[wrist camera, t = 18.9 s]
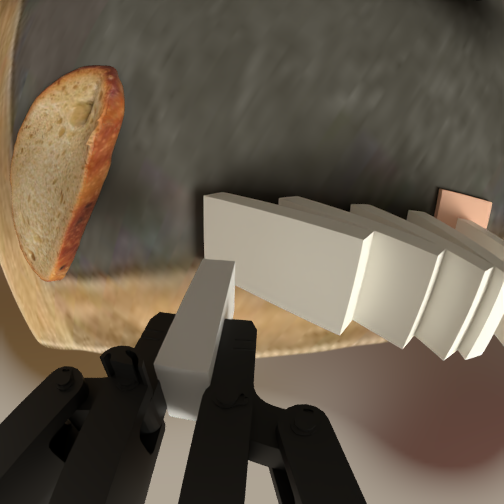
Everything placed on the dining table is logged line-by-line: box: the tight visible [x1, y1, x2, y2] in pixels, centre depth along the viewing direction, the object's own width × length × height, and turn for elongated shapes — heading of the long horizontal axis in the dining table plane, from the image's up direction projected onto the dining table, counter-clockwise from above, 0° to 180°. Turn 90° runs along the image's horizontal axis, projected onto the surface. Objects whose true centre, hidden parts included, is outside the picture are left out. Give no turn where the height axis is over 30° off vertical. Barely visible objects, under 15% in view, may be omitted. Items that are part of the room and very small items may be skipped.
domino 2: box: [278, 196, 446, 349], centre depth 16 cm, size 2×6×11 cm
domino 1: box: [204, 192, 374, 336], centre depth 17 cm, size 2×6×11 cm
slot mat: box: [434, 188, 492, 229], centre depth 20 cm, size 7×10×1 cm
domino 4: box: [407, 210, 504, 360], centre depth 15 cm, size 2×6×11 cm, turn 178°
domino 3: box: [350, 204, 495, 360], centre depth 15 cm, size 2×6×11 cm, turn 177°
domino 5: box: [455, 218, 504, 346], centre depth 14 cm, size 2×6×11 cm, turn 177°
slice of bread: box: [10, 65, 125, 282], centre depth 18 cm, size 18×18×4 cm
